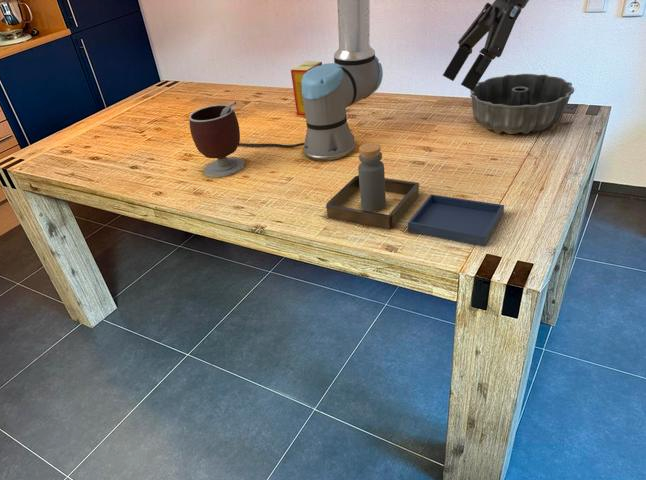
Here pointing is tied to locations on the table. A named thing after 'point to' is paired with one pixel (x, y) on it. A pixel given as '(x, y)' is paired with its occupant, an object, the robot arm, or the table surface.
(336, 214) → the dark brown square frame
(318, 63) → the baking soda box
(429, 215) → the tray
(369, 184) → the bottle
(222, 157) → the mate gourd
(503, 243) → the table surface
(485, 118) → the bundt pan
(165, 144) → the table surface
